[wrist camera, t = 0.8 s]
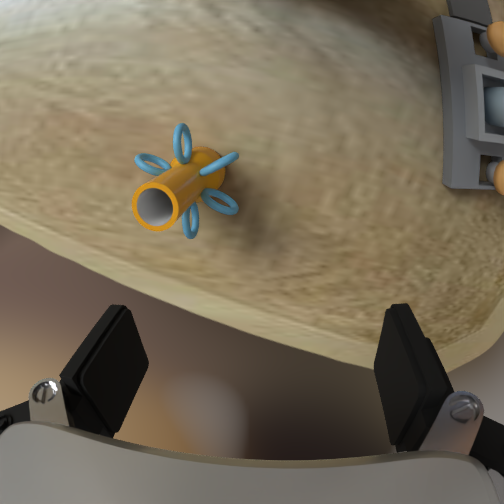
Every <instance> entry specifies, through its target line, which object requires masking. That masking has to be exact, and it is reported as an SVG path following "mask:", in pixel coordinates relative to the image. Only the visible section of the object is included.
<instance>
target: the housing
mask: <svg viewBox="0 0 504 504" xmlns="http://www.w3.org/2000/svg"><path fill="white" fill-rule="evenodd" d="M432 21H433V26H434V32H435V38H436V44H437V51H438V59H439V67H440V76H441V88H442V103H443V129H444V154H443V182H442V184H444V185H446V186H448V187H450V188H455V189H488V190H496V189H495V186H494V184H493V183H491V182H488V181H479V172H480V155H489V156H492V160H491V162H493V161H495V162H498V163H499V162H501V161H502V160H504V127H499V126H494V125H490V124H488V123H486V122H485V111H484V92H483V88H484V87H504V57H501V56H499V55H498V54H497V53H496V52H495V53H489V52H487V51H486V52H487V57H483V56H479V55H476V54H475V49H474V42H473V36H472V32H474V33H477V34H481V33H483V32H486V31H487V27H483V26H480V25H477V24H474V23H470V22H467V21H463V20H460V19H456V18H452V17H448V16H444V15H439V16H437V17H435V18H433V19H432Z"/></svg>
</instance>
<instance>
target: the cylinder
mask: <svg viewBox="0 0 504 504" xmlns="http://www.w3.org/2000/svg"><path fill="white" fill-rule="evenodd" d="M182 133H183V136H184V142H185V151H184V152H182V147H181V136H182ZM173 148H174V154H175V158H174V159H173V160H172V162H171V163H170V165H169V164H168V163H167V162H166V161H165V160H163V159H161V158H159V157H157V156H154V155H151V154H145V153H141V154H138V155H137V156H136V157H135V163H136V165H137V166H138V167H139V168H140V169H142V170H143V171H145V172H147V173H149V174H152V175H155V176H157V177H155V178H154V179H152V180H150V181H148V182H147V183H145V184H143V185H142V186H140V187H139V188H138V189H137V190H136V192H135V193H134V195H133V199H132V210H133V213H134V216H135V218H136V219H137V221H138V222H139V223H140V224H141V225H142V226H143V227H145V228H147V229H149V230H152V231H163V230H166V229H168V228H170V227H171V226H172V225H173V224H174V223H175V222H176V221H177V220H178V218H179V217H180V216H181V215H182V226H183V231H184V234H185V236H186V237H187V238H189V239H193V238H195V236H196V235H197V232H198V228H199V212H198V207H197V204H196V203H199V202H203V201H204V202H205V203H206V204H207V205H208V206H209V207H211V208H212V209H214V210H216V211H218V212H220V213H223V214H226V215H234V214H236V213H237V212H238V210H239V208H238V205H237V203H236V202H235V201H234V200H233V199H232V198H231V197H230V196H228V195H227V194H225V193H223V192H221V191H219V190H217V189H218V188H219V187H220V186H221V184H222V182H223V180H224V178H225V166H227V165H228V164H230V163H232V162H234V161H235V160H237V159H238V157H239V154H238V153H237V152H232V153H230V154H228V155H226V156H224V157H222V158H221V157H220V155H219V154H218V153H217V152H216V151H214V150H212V149H210V148H207V147H194V148H192V139H191V134H190V130H189V128H188V126H187V125H186V124H184V123H180V124H178V125H177V126H176V128H175V131H174V135H173ZM143 160H144V161H150V162H153V163H155V164H157V165H159V166H161V167H162V168H163V169H159V168H156V167H153V166H151V165H149V164H147V163H145V162H144V161H143ZM211 196H214V197H217V198H219V199H221V200H223V201H224V202H226V203H227V204H228V205H229V206H230V207H227V206H224V205H221V204H219V203H218V202H216V201H214V200H213V199H212V198H211ZM190 209H191V212H192V228H190V220H189V216H190Z"/></svg>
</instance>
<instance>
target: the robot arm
mask: <svg viewBox="0 0 504 504" xmlns="http://www.w3.org/2000/svg"><path fill="white" fill-rule="evenodd" d="M148 364H149V361H148V358H147V355H146V353H145V350H144V347H143V344H142V342H141V339H140V336H139V333H138V330H137V327H136V325H135V322H134V319H133V316H132V313H131V311H130V310H129V309H127V307H126V306H124V305H110V306H109V308H108V309H107V310H106V312H105V313H104V314H103V316H102V317H101V318H100V320H99V321H98V322H97V323H96V325H95V326H94V327H93V329H92V330H91V332H90V333H89V334H88V336H87V337H86V338H85V340H84V341H83V342H82V344H81V345H80V347H79V348H78V349H77V351H76V352H75V354H74V355H73V356H72V358H71V359H70V361H69V362H68V363H67V365H66V367H65V368H64V369H63V371H62V372H61V374H60V375H59V376H60V377H61V380H60V382H58V381H57V380H56V379H53V378H46V379H42V380H40V381H38V382H37V383H36V384H35V385H34V386H33V387H32V388H31V390H30V393H29V400H28V401H26V402H23V403H21V404H18V405H16V406H13V407H11V408H8V409H6V410H3V411H0V504H504V425H502V424H500V423H498V422H496V421H494V420H492V419H489V418H487V417H485V416H483V414H484V408H483V404H482V402H481V401H480V399H478V397H477V396H475V395H474V394H472V393H470V392H466V391H457V392H454V390H453V388H452V385H451V383H450V381H449V378H448V376H447V374H446V372H445V369H444V367H443V365H442V363H441V361H440V359H439V356H438V354H437V352H436V350H435V348H434V346H433V344H432V342H431V340H430V339H429V338H425V336H424V334H423V332H422V330H421V328H420V326H419V324H418V322H417V320H416V318H415V316H414V314H413V312H412V310H411V308H410V307H409V305H408V304H407V303H403V304H392V305H391V308H389V309H386V312H385V317H384V322H383V327H382V331H381V336H380V340H379V345H378V349H377V353H376V357H375V361H374V372H375V376H376V381H377V385H378V389H379V393H380V397H381V402H382V406H383V410H384V415H385V420H386V424H387V429H388V434H389V439H390V443H391V445H395V446H396V451H397V453H393V454H384V455H376V456H368V457H357V458H344V459H328V460H305V461H275V460H249V459H233V458H222V457H213V456H204V455H196V454H188V453H182V452H175V451H169V450H163V449H158V448H153V447H148V446H143V445H139V444H134V443H130V442H125V441H121V440H117V439H113V437H114V434H115V433H116V432H118V431H119V430H120V428H121V426H122V424H123V421H124V419H125V417H126V415H127V412H128V410H129V408H130V406H131V404H132V401H133V399H134V397H135V395H136V393H137V390H138V388H139V386H140V384H141V382H142V380H143V378H144V375H145V373H146V371H147V369H148ZM403 451H407V452H403ZM398 452H402V453H398Z"/></svg>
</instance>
